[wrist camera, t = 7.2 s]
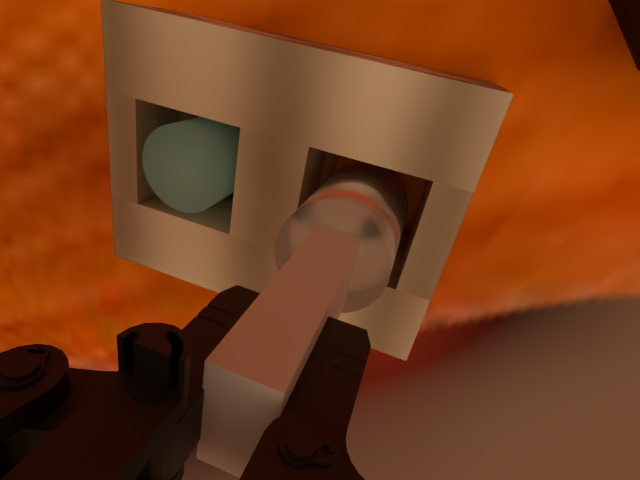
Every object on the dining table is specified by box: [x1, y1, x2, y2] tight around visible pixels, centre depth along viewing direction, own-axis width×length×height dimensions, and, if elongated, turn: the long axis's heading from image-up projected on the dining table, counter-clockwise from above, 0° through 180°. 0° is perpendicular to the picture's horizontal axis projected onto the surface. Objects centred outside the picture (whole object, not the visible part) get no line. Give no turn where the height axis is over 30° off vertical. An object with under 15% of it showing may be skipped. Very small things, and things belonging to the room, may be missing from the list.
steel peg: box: [274, 162, 408, 313], centre depth 16 cm, size 4×4×6 cm
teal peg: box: [142, 117, 240, 213], centre depth 20 cm, size 4×4×6 cm
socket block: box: [101, 0, 514, 361], centre depth 20 cm, size 16×12×6 cm
